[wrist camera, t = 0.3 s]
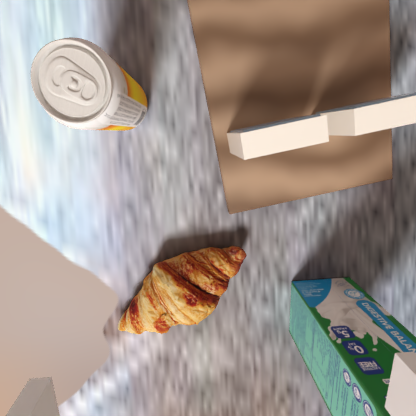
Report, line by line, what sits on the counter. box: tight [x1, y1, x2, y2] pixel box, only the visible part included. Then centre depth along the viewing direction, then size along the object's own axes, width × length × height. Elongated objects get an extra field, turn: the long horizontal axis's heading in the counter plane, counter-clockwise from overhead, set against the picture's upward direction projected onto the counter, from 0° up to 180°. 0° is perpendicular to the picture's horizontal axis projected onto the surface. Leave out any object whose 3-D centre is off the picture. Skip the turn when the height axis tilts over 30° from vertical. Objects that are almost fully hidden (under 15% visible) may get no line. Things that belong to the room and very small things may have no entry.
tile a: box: [313, 92, 416, 136], centre depth 29 cm, size 3×8×9 cm, turn 102°
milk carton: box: [289, 277, 416, 416], centre depth 31 cm, size 9×9×25 cm
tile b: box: [227, 114, 329, 160], centre depth 29 cm, size 3×8×9 cm, turn 102°
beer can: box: [31, 38, 147, 130], centre depth 26 cm, size 6×6×15 cm
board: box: [187, 0, 392, 214], centre depth 33 cm, size 26×22×2 cm
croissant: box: [118, 246, 246, 334], centre depth 38 cm, size 21×10×8 cm, turn 125°
